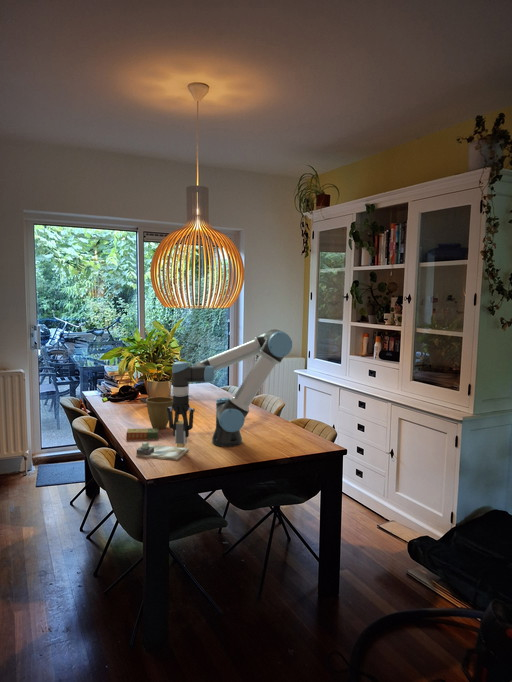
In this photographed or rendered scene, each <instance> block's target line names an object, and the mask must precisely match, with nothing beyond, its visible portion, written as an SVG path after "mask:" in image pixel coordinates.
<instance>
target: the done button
mask: <svg viewBox="0 0 512 682" xmlns="http://www.w3.org/2000/svg"><path fill="white" fill-rule="evenodd" d="M149 445H150V444H149V442H148V441H147V442H145V441H144V442H142V444H141V446H142V450H148V449H149Z"/></svg>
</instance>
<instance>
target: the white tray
mask: <svg viewBox="0 0 512 682" xmlns="http://www.w3.org/2000/svg"><path fill="white" fill-rule="evenodd" d="M188 451H189V447H183V448H180V447H177V446H171V445H170V446H169V445H160V444H158V445H157V444H152V443H151V444H149V449H148V450H142V445H141V446H139V448H136V457H138V458H139V457H141V458H149V459H159V460H160V459H161V460H170V461H179V460H180V458H182V457H183V456H184V455H185V454H186V453H188Z"/></svg>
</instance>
